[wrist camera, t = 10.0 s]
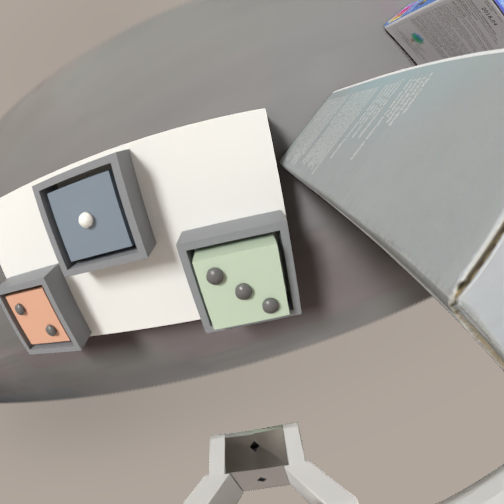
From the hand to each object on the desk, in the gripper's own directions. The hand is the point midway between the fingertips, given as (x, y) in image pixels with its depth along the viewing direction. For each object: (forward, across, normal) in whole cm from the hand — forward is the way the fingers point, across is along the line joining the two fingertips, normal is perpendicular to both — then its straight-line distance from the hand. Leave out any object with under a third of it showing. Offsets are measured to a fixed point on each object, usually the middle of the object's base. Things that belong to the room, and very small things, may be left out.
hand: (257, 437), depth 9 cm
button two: (+14, +18, 0) cm, 22 cm away
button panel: (+17, +9, -3) cm, 19 cm away
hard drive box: (+17, -12, -3) cm, 21 cm away
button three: (+12, 0, 0) cm, 12 cm away
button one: (+14, +9, -6) cm, 17 cm away
